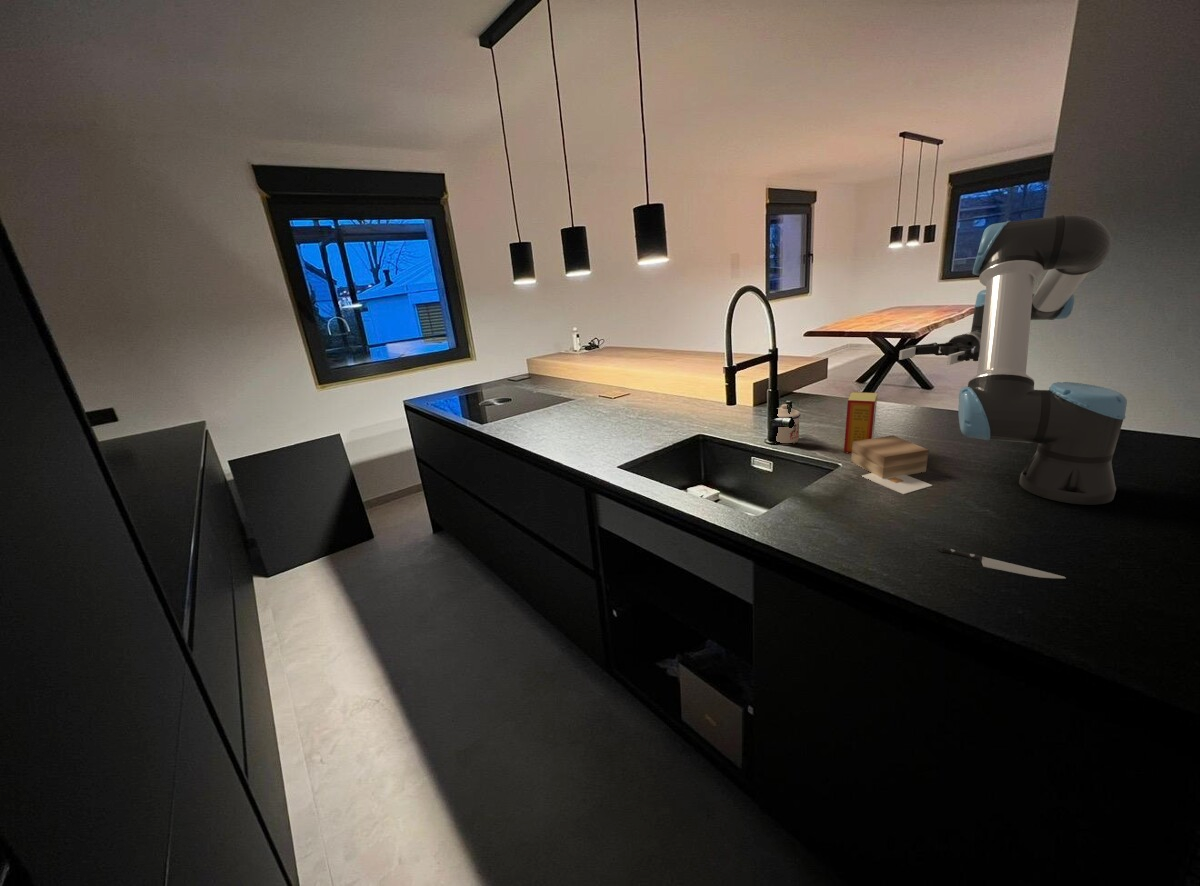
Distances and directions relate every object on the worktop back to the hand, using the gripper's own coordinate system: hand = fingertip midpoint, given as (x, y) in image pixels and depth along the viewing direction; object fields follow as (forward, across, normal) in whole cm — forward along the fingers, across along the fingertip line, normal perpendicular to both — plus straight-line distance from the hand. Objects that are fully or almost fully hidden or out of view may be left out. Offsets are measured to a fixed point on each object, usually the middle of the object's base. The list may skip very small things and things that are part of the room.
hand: (923, 357), depth 137 cm
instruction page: (+35, -17, -23) cm, 45 cm away
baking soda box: (+23, +2, -23) cm, 33 cm away
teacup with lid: (+31, +21, -23) cm, 44 cm away
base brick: (+29, -11, -23) cm, 39 cm away
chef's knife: (+54, -48, -23) cm, 76 cm away
